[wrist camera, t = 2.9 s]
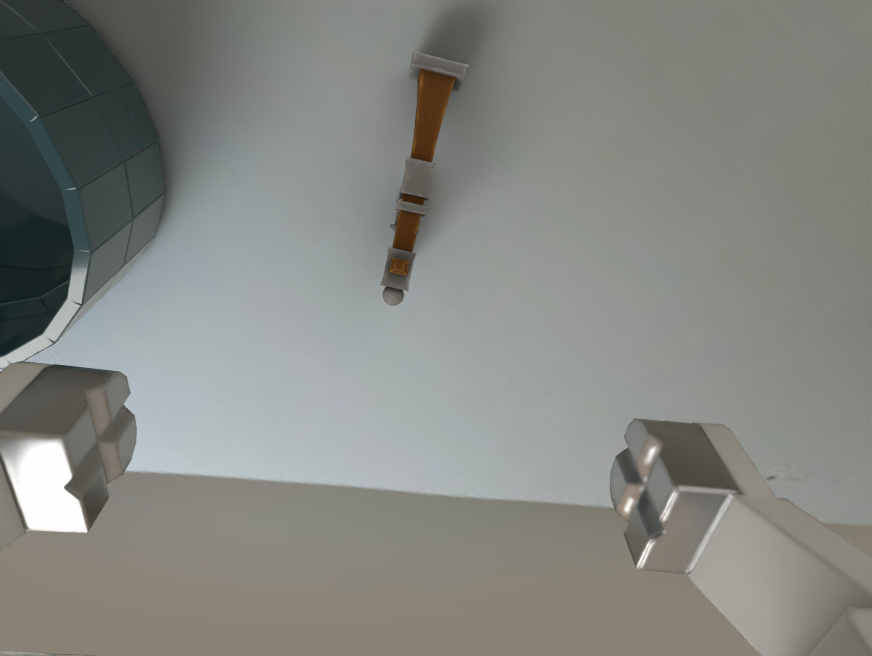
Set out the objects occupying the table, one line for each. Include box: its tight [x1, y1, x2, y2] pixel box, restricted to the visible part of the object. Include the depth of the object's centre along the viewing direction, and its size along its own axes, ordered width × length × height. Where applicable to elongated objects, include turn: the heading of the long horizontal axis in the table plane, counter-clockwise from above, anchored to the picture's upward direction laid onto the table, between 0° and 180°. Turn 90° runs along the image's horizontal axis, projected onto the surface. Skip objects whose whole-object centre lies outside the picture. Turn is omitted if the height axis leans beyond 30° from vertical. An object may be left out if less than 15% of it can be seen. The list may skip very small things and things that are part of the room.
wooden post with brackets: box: [380, 51, 469, 306], centre depth 21 cm, size 2×8×4 cm, turn 167°
